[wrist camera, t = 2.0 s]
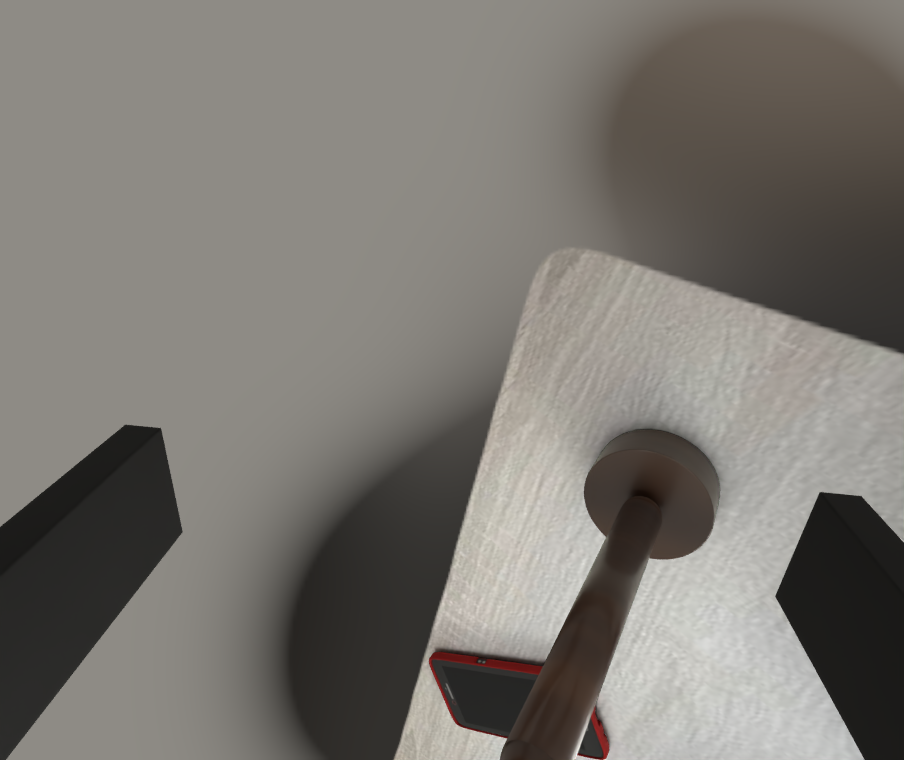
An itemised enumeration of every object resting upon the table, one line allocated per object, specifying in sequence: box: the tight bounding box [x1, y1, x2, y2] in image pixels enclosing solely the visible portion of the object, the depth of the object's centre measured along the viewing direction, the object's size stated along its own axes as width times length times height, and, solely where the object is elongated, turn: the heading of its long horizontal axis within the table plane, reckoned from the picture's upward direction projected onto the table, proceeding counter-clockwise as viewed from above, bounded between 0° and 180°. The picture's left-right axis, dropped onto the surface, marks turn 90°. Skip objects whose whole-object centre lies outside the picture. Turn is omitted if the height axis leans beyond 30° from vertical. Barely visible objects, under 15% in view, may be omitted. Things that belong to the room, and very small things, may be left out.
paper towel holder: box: [500, 429, 720, 760], centre depth 25 cm, size 7×7×20 cm
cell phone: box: [429, 652, 609, 760], centre depth 46 cm, size 8×15×1 cm, turn 115°
